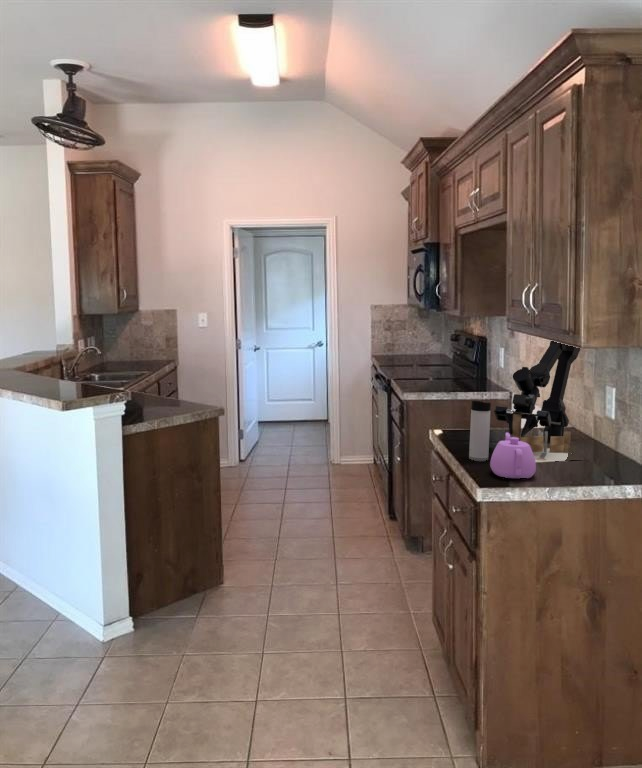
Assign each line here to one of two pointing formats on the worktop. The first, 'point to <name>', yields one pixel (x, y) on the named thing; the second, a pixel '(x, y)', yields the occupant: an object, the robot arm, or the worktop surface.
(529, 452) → the teapot
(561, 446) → the base
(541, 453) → the card
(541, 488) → the worktop surface
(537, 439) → the gate
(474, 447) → the travel mug
